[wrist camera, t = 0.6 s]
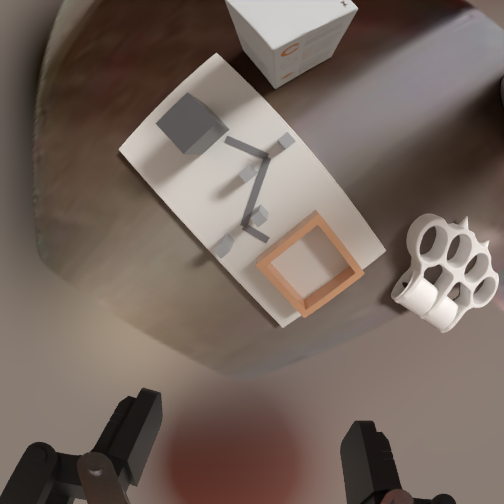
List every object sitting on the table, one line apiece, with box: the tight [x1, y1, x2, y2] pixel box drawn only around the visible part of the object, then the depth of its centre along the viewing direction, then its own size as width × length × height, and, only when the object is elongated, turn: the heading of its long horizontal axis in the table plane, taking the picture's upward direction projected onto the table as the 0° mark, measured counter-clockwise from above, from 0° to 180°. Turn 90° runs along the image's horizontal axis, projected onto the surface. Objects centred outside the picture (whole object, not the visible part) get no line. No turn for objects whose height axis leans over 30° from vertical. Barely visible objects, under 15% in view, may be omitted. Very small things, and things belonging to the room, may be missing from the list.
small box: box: [225, 0, 358, 89], centre depth 21 cm, size 8×6×13 cm
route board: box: [119, 53, 386, 328], centre depth 31 cm, size 16×30×5 cm, turn 41°
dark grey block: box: [156, 92, 230, 154], centre depth 27 cm, size 4×4×7 cm
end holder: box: [255, 210, 365, 318], centre depth 33 cm, size 9×9×2 cm
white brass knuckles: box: [391, 213, 499, 333], centre depth 33 cm, size 3×18×15 cm
